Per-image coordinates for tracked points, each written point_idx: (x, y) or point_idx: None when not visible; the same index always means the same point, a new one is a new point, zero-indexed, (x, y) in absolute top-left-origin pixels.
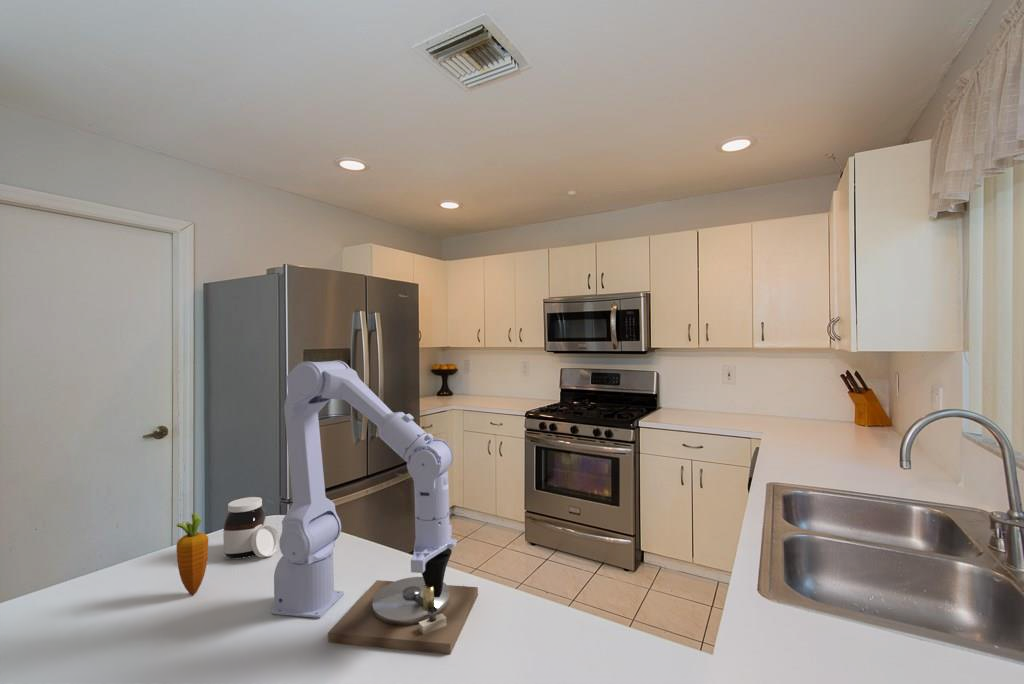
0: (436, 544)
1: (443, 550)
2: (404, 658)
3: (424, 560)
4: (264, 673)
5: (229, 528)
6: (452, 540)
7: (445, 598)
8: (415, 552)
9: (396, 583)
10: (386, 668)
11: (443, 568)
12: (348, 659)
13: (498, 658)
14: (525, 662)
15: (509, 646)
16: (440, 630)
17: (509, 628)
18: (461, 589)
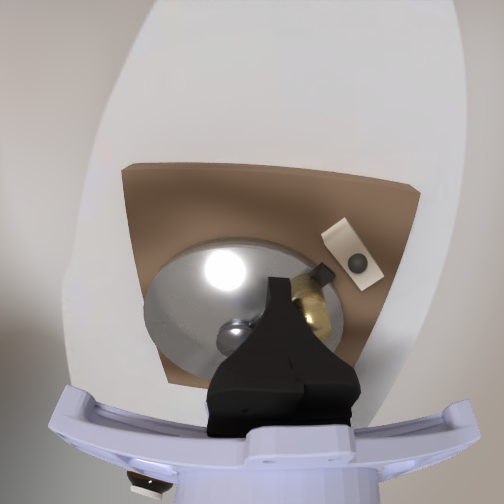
0: (376, 483)
1: (373, 440)
2: (404, 274)
3: (470, 436)
4: (382, 399)
5: (171, 484)
6: (280, 466)
7: (248, 253)
8: (399, 476)
9: (194, 368)
10: (421, 293)
11: (318, 348)
12: (383, 348)
13: (423, 70)
14: (426, 15)
15: (379, 38)
16: (366, 228)
17: (298, 34)
18: (144, 216)
